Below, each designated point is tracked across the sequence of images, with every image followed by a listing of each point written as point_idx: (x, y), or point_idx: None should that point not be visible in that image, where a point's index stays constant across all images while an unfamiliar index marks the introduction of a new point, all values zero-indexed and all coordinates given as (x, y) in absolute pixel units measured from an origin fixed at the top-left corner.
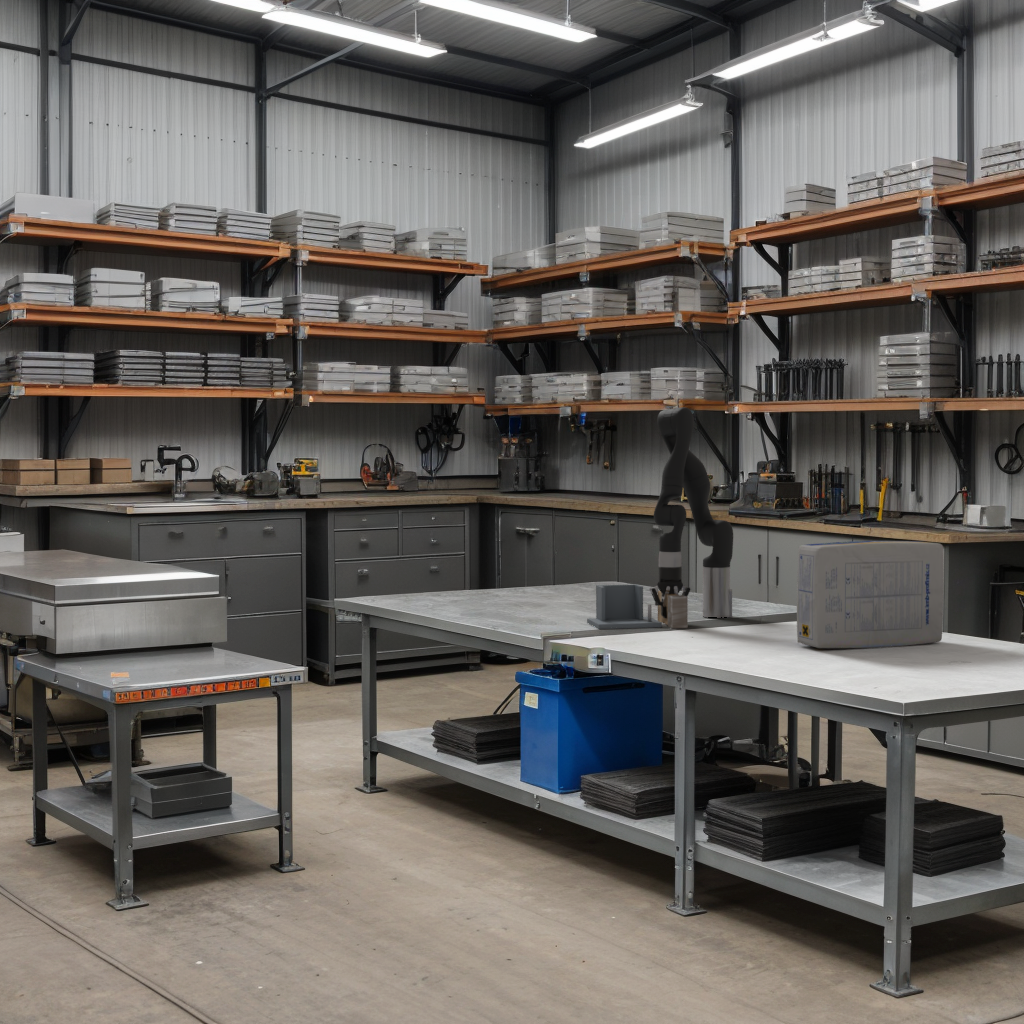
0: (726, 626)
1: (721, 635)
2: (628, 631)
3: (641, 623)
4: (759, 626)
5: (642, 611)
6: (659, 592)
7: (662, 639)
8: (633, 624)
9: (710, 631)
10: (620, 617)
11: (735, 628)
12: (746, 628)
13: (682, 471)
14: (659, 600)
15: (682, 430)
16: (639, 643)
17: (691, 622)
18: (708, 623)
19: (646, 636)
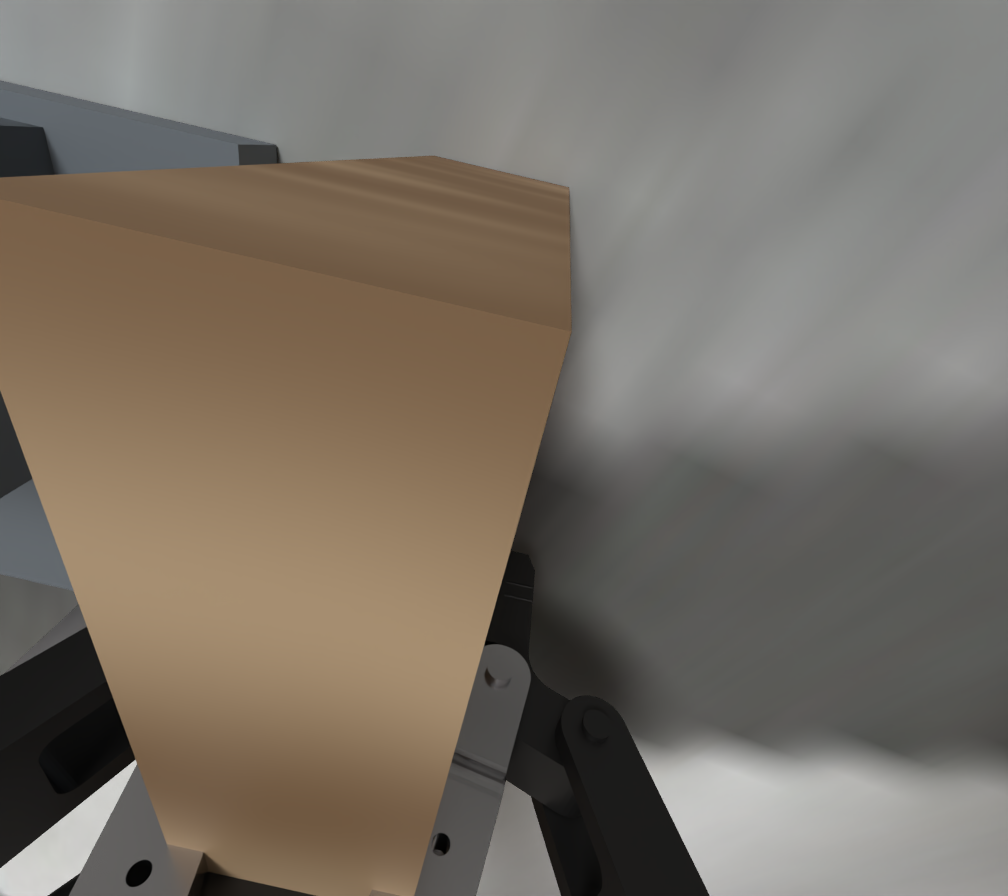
0: (795, 761)
1: (500, 887)
2: (9, 640)
3: None
4: (999, 840)
5: (11, 485)
6: (84, 491)
7: None
8: (16, 569)
9: (528, 819)
10: None
11: (764, 822)
12: (826, 845)
13: None
14: (130, 751)
15: None
16: (68, 851)
17: (735, 492)
18: (825, 611)
19: (115, 779)
